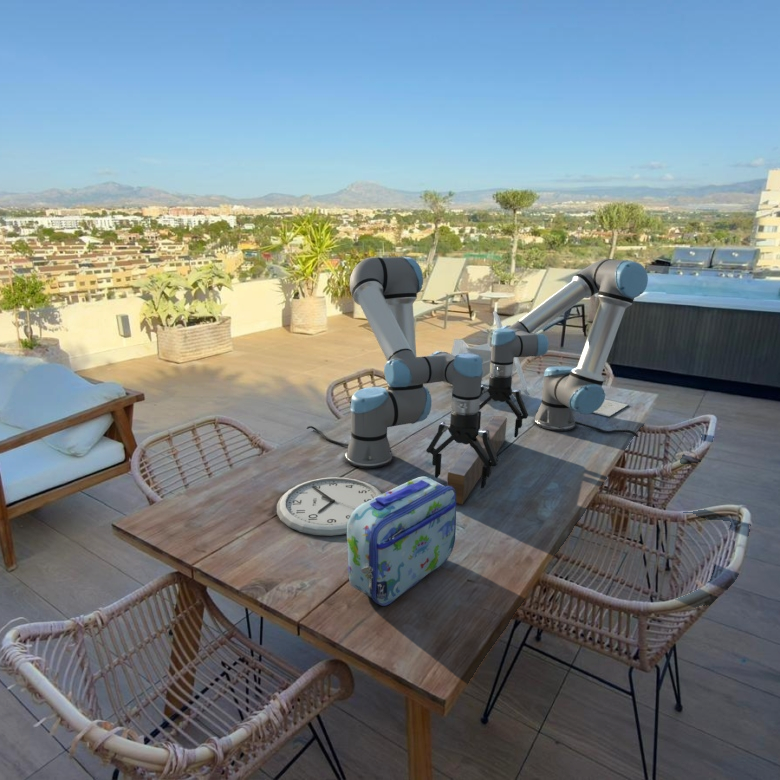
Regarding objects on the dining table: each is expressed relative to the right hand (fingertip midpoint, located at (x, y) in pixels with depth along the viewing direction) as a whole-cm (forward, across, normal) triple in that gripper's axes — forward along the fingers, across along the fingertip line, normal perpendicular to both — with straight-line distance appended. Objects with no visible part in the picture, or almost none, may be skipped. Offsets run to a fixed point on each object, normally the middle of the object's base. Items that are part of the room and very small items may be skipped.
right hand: (496, 432), depth 184 cm
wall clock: (+4, -30, -62) cm, 69 cm away
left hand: (0, 0, -41) cm, 41 cm away
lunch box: (+4, 0, -82) cm, 82 cm away
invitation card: (+5, +31, +61) cm, 69 cm away
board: (+4, 0, -21) cm, 21 cm away
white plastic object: (+5, -22, +57) cm, 61 cm away
